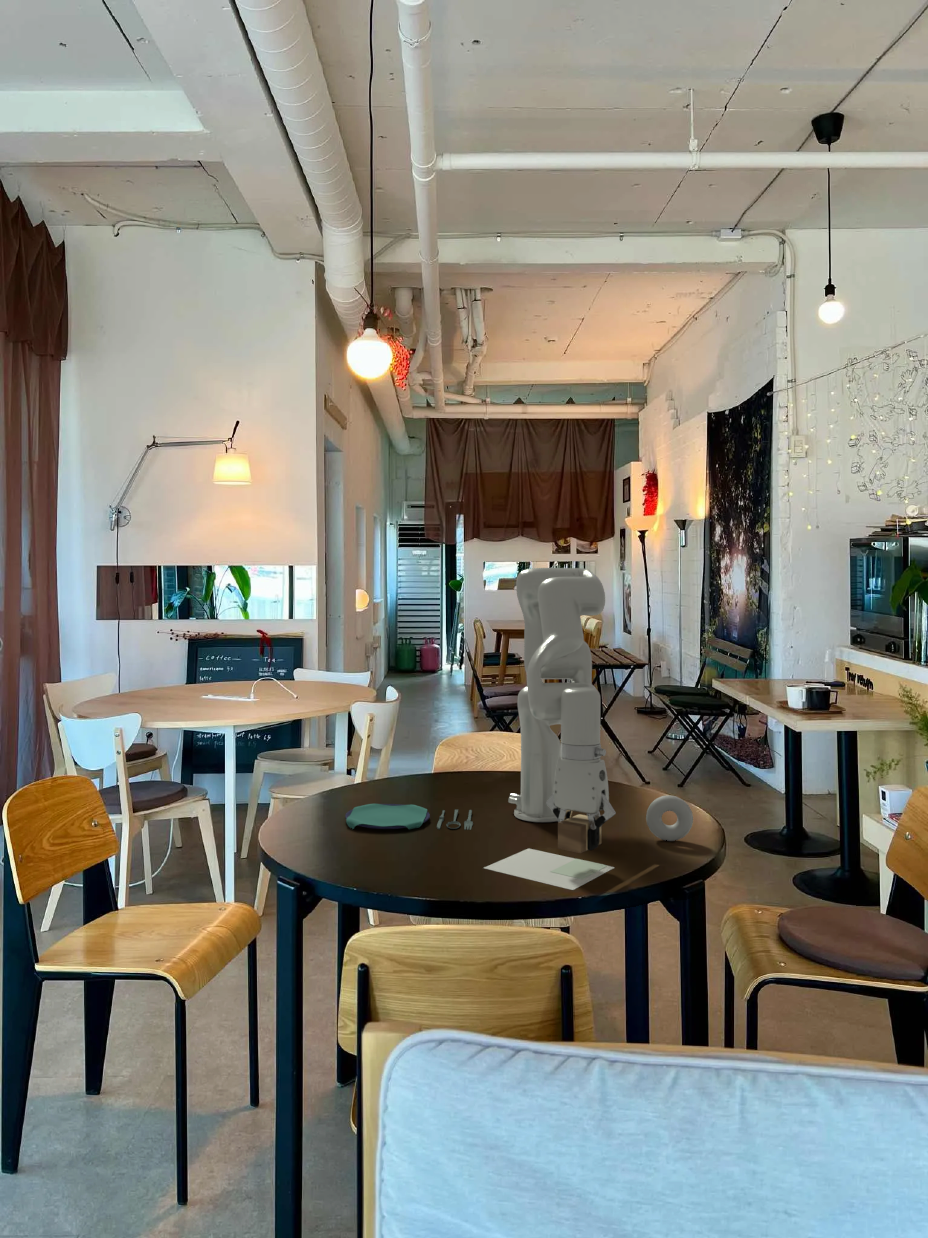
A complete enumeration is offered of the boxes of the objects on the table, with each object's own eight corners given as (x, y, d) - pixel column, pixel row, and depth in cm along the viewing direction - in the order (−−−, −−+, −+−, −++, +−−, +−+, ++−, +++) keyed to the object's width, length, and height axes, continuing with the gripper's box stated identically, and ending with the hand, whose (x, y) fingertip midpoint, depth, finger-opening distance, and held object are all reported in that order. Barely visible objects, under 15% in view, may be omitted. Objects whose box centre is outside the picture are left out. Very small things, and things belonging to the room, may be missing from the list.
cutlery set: (353, 810, 217) (353, 801, 217) (474, 814, 216) (474, 805, 216) (337, 834, 198) (337, 824, 197) (471, 838, 196) (471, 828, 196)
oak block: (578, 839, 175) (579, 814, 175) (601, 843, 172) (601, 818, 172) (557, 848, 169) (557, 822, 168) (580, 853, 165) (580, 827, 165)
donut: (645, 842, 191) (646, 796, 190) (645, 837, 194) (645, 792, 194) (693, 844, 189) (694, 798, 188) (692, 840, 192) (692, 794, 192)
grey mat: (483, 871, 171) (483, 867, 171) (528, 851, 184) (528, 848, 184) (572, 893, 159) (572, 889, 159) (614, 870, 172) (614, 867, 172)
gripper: (629, 754, 167) (628, 849, 168) (552, 744, 178) (552, 834, 178) (610, 760, 161) (610, 858, 162) (532, 750, 172) (532, 842, 172)
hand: (579, 845), depth 170 cm, fingers closed on oak block, 5 cm apart
